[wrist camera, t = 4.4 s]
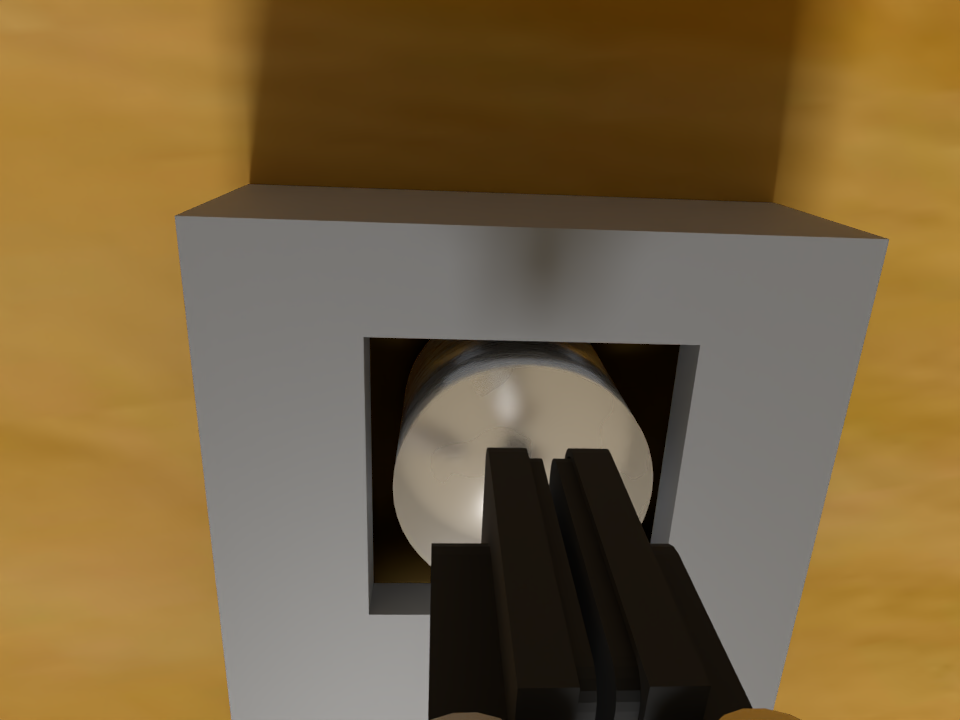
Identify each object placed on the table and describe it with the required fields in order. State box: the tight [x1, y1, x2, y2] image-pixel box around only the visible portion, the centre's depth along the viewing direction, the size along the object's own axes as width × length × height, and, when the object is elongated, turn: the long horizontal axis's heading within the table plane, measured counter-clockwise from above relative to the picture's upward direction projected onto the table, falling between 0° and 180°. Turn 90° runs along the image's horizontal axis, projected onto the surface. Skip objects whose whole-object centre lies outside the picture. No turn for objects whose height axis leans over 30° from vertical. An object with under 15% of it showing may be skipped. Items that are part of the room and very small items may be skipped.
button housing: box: [175, 184, 889, 720], centre depth 18 cm, size 22×12×4 cm, turn 178°
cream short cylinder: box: [393, 339, 653, 566], centre depth 15 cm, size 5×5×4 cm
